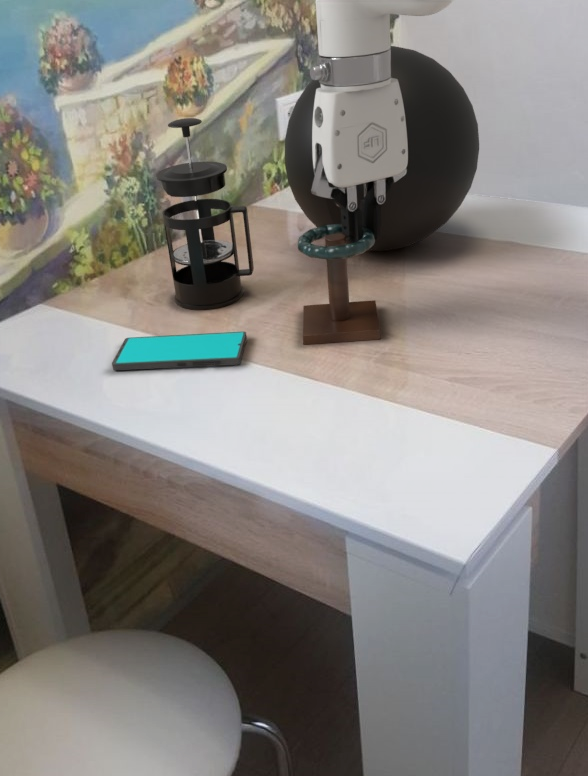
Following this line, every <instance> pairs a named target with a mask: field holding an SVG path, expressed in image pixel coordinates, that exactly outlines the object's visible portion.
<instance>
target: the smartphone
mask: <svg viewBox="0 0 588 776" xmlns="http://www.w3.org/2000/svg"><path fill="white" fill-rule="evenodd" d="M247 338H248V337H247V332H246V331H229V332H228V331H227V332H209V333H195V334H194V333H192V334H174V335H152V336H134V337H133V336H132V337H131V336H130V337H126V338H124V340H123V342H122V344H121V345H120V347H119V349H118V351H117V353H116V355H115V357H114V358H113V360H112V362H111V367H112V370H113V371H126V370H127V371H128V370H129V371H130V370H150V369H169V368H171V369H172V368H191V367H211V366H212V367H213V366H214V367H215V366H234V365H239V364H241V361H242V359H243V354H244V350H245V347H246V343H247Z"/></svg>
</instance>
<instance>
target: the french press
mask: <svg viewBox="0 0 588 776" xmlns="http://www.w3.org/2000/svg"><path fill="white" fill-rule="evenodd" d="M202 122H203V120H202V119H200V118H196V117H186V118H179V119H176V120H175V119H174V120H172V121H171V122H169V123H168V124H167V127H169V128H171V129H172V128H173V129H181V134H182V137H183V138H185V143H186V144H185V145H186V151H187V159H188V162H185V163H181V164H175V165H171V166H169V167H165V168H163V169H161V170H160V171H158V172H157V173H156V177H155V178H156V179H157V181H159V182H160V183H161V186H162V188H163V191H164V192H165V193H166V195H168V196H169V197H174V198H189V197H190V198H191V197H193V199H192V200H186V201H182V202H179V203H175V204H172V205H170V206H168V207H167V208H165V209H164V210H163V211H162V218H163V225H164V226H163V227H164V231H165V238H166V245H167V250H168V256H169V263H170V269H171V275H172V280H173V281H172V282H173V288H174V293H175V294H174V301H175V304H176V305H177V306H179V307H181V308H183V309H187V310H193V311H194V310H195V311H204V310H213V309H219V308H223V307H226V306H230V305H231V304H234V303H236V302H237V301H239V300H240V299H241V298H243V295H244V292H245V291H244V287H243V285H242V281H241V277H246V276H248V277H250V276H252V275H253V272H254V268H255V267H254V257H253V249H252V240H251V239H252V238H251V232H250V231H251V230H250V223H249V214H248V213H249V211H248V208H247V206H245V205H240V206H239V205H238V206H232V203H231V202H230V201H227V200H226V199H220V198H200V199H198V196H199V197H200V196H203V195H208V194H211V193H215V192H218V191H220V190H222V189H223V188H225V186H226V177H225V174H226V172H227V171H228V166H227V165H226V164H225V163H223V162H218V161H192V154H191V153H192V152H191V146H190V140H189V137H191V129H190V127H195V126H197V125H200V124H202ZM212 210H221V211H223V212H219V213H218V214H214V215H213V214H212ZM192 211H195V215H196V218H193V219H178V218H172V217H174V216H177V215H180V214H183V213H186V212H192ZM237 213H241V214H242V217H243V225H244V226H243V227H244V235H245V244H246V252H247V262H248V267H249V268H245V269H244V268H242V269H240V264H239V257H238V247H237V237H236V231H235V223H234V215H233V214H237ZM227 222H229V226H230V227H229V228H230V236H231V242H229V241H227V240H219V239H216V238H215V230H214V227H218V226H220V225H223V224H225V223H227ZM171 230H175V231H176V230H177V231H184V232H185V237H186V243H187V244H186V243H185V244H183V245H181V246H178V247H177V248H175V249H174V248H173V241H172V234H171ZM232 256H233V261H234V263H233V262H228V261H225V260H227V259H230V258H231V257H232ZM176 264H178V265H181V266H184V267H182V268H180V269H178V270H177V265H176Z"/></svg>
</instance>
